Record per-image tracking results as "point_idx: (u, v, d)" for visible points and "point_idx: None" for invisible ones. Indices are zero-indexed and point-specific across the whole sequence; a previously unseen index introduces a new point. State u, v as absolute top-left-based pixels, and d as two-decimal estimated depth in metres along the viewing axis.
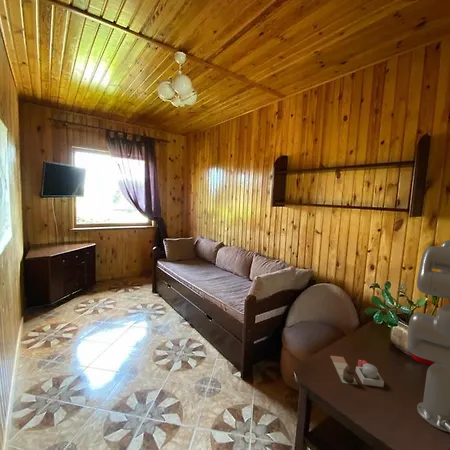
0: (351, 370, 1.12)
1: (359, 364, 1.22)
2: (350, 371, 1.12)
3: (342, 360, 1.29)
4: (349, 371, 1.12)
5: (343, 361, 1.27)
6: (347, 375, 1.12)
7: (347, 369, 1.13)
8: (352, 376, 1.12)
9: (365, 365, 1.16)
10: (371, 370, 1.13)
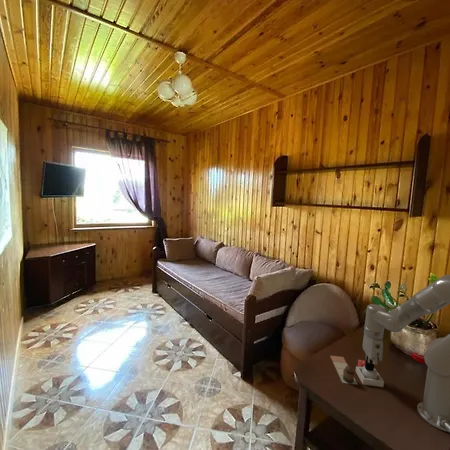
0: (351, 370, 1.12)
1: (359, 364, 1.22)
2: (350, 371, 1.12)
3: (342, 360, 1.29)
4: (349, 371, 1.12)
5: (343, 361, 1.27)
6: (347, 375, 1.12)
7: (347, 369, 1.13)
8: (352, 376, 1.12)
9: None
10: (371, 372, 1.13)
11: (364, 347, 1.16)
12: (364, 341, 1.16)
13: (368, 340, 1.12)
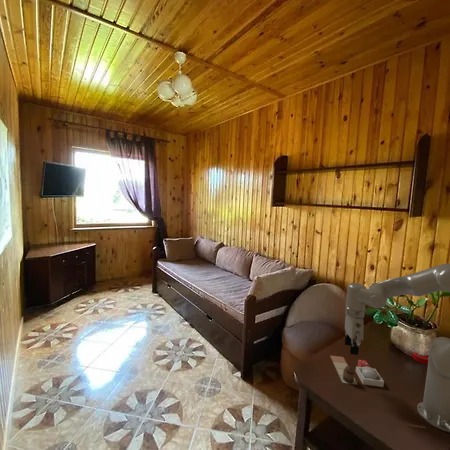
0: (351, 370, 1.12)
1: (359, 364, 1.22)
2: (350, 371, 1.12)
3: (342, 360, 1.29)
4: (349, 371, 1.12)
5: (343, 361, 1.27)
6: (347, 375, 1.12)
7: (347, 369, 1.13)
8: (352, 376, 1.12)
9: (365, 368, 1.16)
10: (371, 373, 1.13)
11: (346, 327, 1.14)
12: (346, 321, 1.14)
13: (349, 319, 1.10)
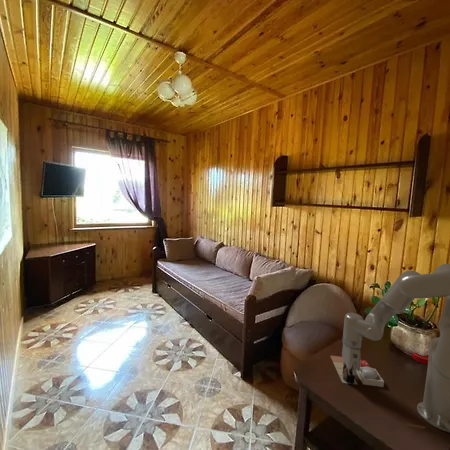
0: (351, 370, 1.12)
1: None
2: (350, 371, 1.12)
3: (342, 360, 1.29)
4: None
5: (343, 361, 1.27)
6: None
7: (347, 369, 1.13)
8: None
9: (365, 368, 1.16)
10: (371, 373, 1.13)
11: (343, 356, 1.15)
12: (343, 350, 1.15)
13: (346, 349, 1.11)
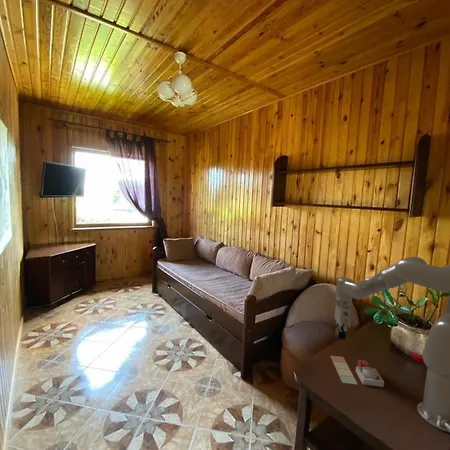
0: None
1: (359, 364, 1.22)
2: None
3: (342, 360, 1.29)
4: None
5: (343, 361, 1.27)
6: None
7: (339, 327, 1.26)
8: None
9: (365, 368, 1.16)
10: (371, 373, 1.13)
11: (335, 316, 1.29)
12: (335, 311, 1.29)
13: (338, 309, 1.25)
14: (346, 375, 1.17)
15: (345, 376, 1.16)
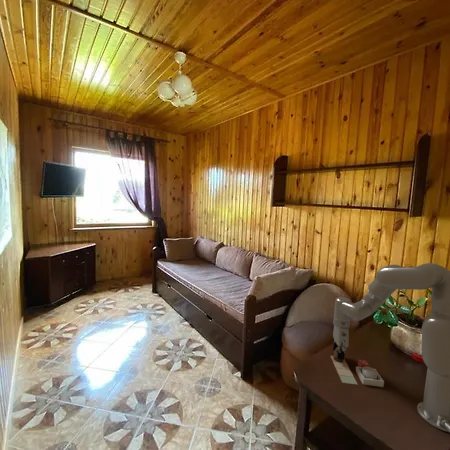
0: None
1: (359, 364, 1.22)
2: None
3: None
4: None
5: (343, 361, 1.27)
6: None
7: (337, 350, 1.27)
8: None
9: (365, 368, 1.16)
10: (371, 373, 1.13)
11: (334, 336, 1.30)
12: (334, 330, 1.30)
13: (336, 329, 1.26)
14: (346, 375, 1.17)
15: (345, 376, 1.16)
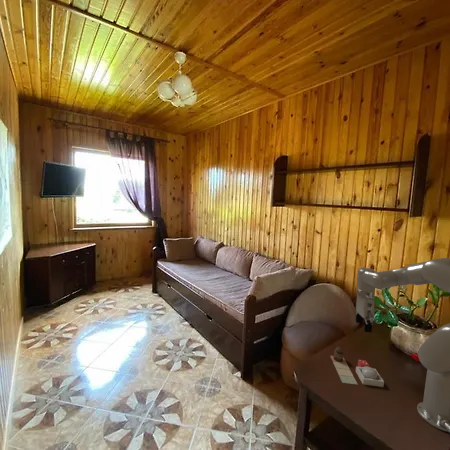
0: (340, 350, 1.27)
1: (359, 364, 1.22)
2: (340, 351, 1.27)
3: None
4: (339, 351, 1.27)
5: (343, 361, 1.27)
6: (337, 355, 1.27)
7: (337, 350, 1.27)
8: (341, 356, 1.26)
9: (365, 368, 1.16)
10: (371, 373, 1.13)
11: (357, 309, 1.25)
12: (357, 303, 1.25)
13: (361, 301, 1.21)
14: (346, 375, 1.17)
15: (345, 376, 1.16)
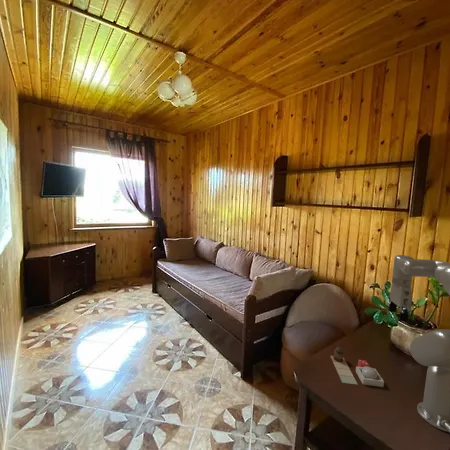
0: (340, 350, 1.27)
1: (359, 364, 1.22)
2: (340, 351, 1.27)
3: None
4: (339, 351, 1.27)
5: (343, 361, 1.27)
6: (337, 355, 1.27)
7: (337, 350, 1.27)
8: (341, 356, 1.26)
9: (365, 368, 1.16)
10: (371, 373, 1.13)
11: (392, 297, 1.21)
12: (392, 292, 1.21)
13: (397, 289, 1.17)
14: (346, 375, 1.17)
15: (345, 376, 1.16)
